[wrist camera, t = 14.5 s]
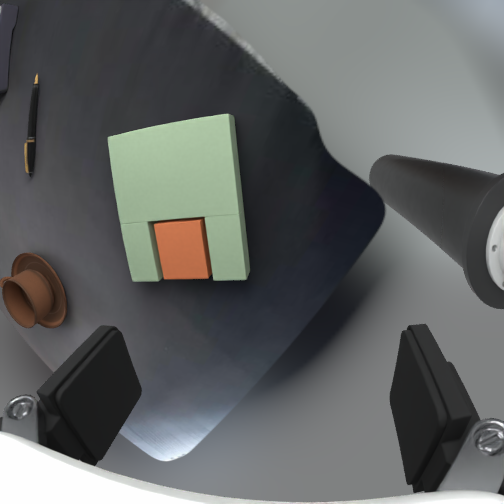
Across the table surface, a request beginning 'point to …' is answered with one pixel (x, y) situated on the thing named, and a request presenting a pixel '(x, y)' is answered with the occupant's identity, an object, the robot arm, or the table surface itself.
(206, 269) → the orange block
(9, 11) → the calculator
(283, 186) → the table surface
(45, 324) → the cup and saucer
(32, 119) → the fountain pen
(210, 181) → the base pad
